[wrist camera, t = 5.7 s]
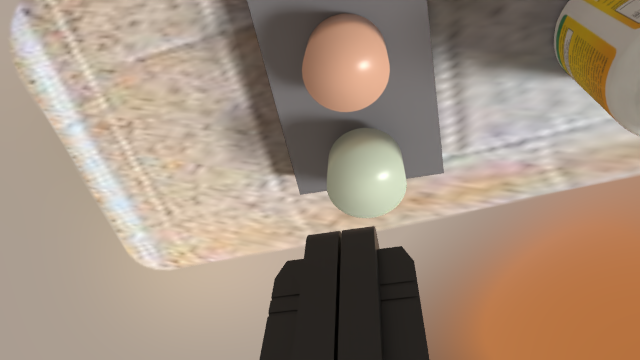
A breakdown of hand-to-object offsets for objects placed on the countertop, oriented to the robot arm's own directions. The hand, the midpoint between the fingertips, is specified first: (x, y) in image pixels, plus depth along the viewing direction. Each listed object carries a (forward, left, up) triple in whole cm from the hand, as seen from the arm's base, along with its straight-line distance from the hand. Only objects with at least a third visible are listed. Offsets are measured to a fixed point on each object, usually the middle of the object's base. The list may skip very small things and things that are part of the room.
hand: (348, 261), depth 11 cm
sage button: (+4, +4, -14) cm, 15 cm away
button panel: (0, 0, -17) cm, 17 cm away
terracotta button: (0, 0, -15) cm, 15 cm away
